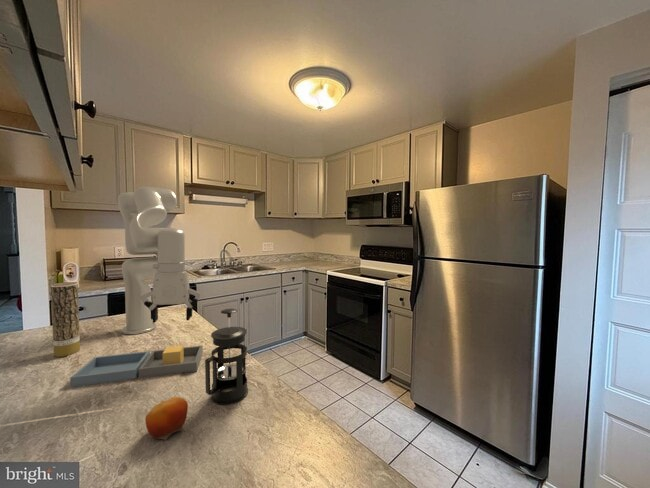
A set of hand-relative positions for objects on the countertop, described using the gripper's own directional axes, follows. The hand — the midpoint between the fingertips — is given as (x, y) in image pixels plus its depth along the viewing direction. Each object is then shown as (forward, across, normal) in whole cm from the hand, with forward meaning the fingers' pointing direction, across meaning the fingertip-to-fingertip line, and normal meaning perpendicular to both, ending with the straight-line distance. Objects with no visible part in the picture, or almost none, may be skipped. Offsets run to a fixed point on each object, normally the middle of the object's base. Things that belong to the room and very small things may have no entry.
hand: (172, 320), depth 89 cm
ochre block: (+14, 0, -1) cm, 14 cm away
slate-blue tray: (+15, -16, -1) cm, 22 cm away
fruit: (+14, +6, -33) cm, 36 cm away
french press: (+14, +18, -23) cm, 33 cm away
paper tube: (+16, -38, +19) cm, 45 cm away
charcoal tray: (+15, +1, -1) cm, 15 cm away
